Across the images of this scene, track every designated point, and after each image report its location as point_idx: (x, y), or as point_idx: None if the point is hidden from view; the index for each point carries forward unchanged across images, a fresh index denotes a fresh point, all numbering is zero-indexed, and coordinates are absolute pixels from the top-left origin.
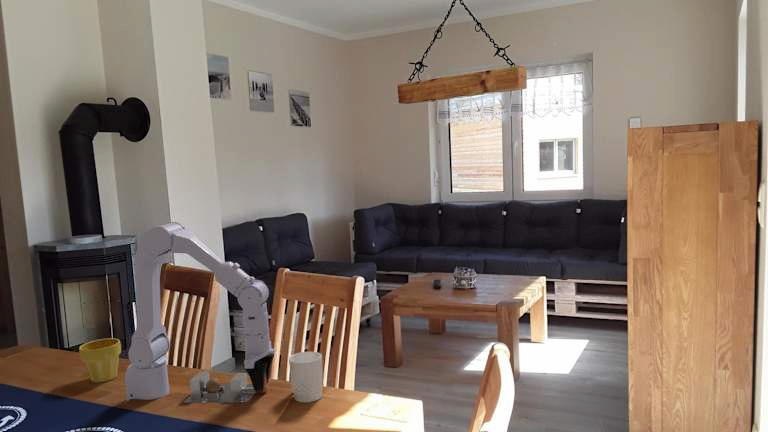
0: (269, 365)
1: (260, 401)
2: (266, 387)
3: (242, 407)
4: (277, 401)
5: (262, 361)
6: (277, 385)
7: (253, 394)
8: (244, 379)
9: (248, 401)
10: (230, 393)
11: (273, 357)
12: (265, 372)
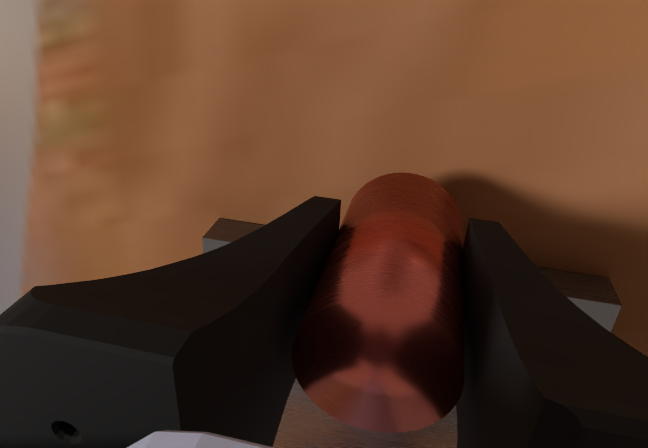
0: (263, 285)
1: (498, 197)
2: (408, 192)
3: None
4: (542, 25)
5: (238, 434)
6: (143, 107)
7: None
8: (346, 430)
9: (607, 302)
10: None
11: (56, 285)
12: (382, 291)
